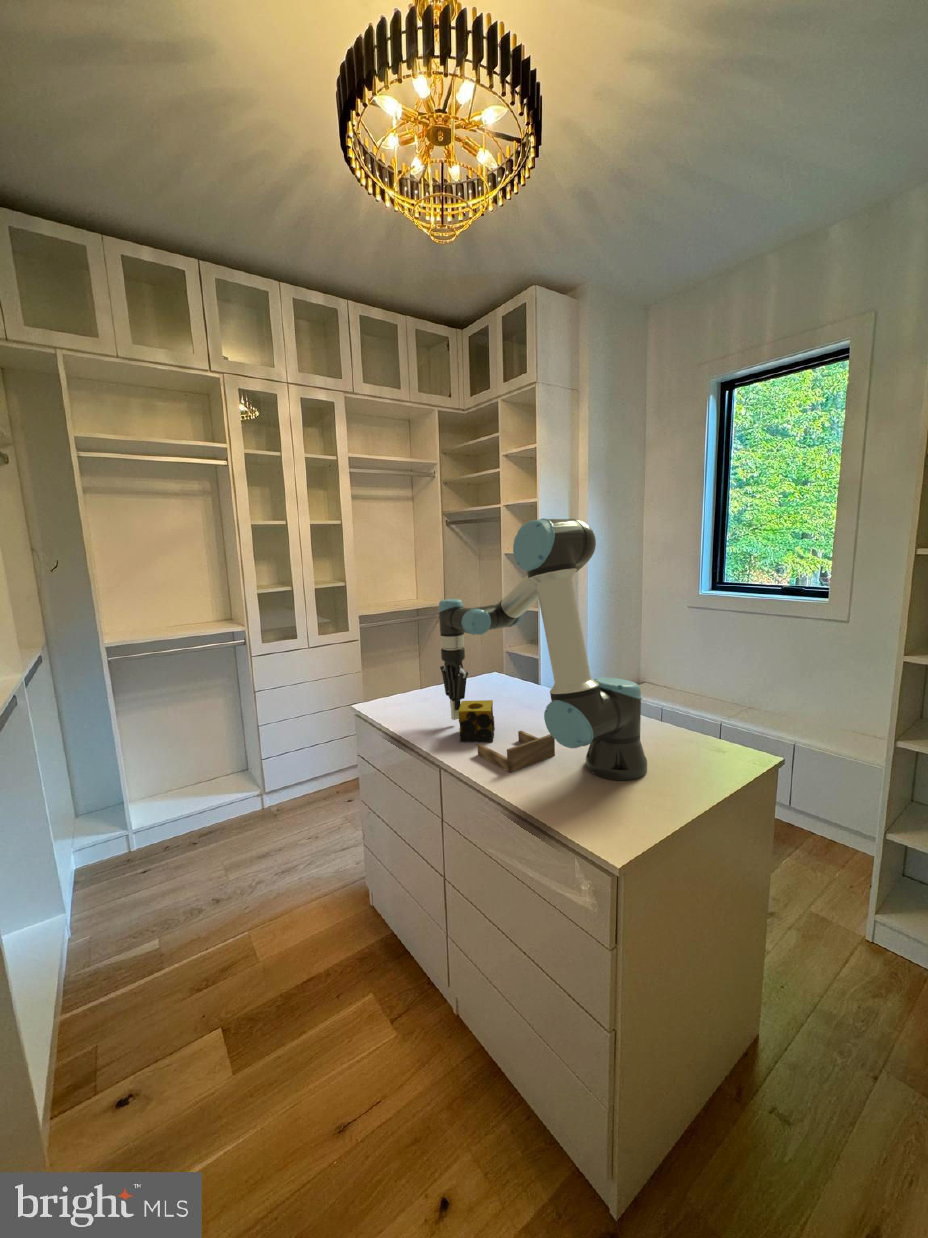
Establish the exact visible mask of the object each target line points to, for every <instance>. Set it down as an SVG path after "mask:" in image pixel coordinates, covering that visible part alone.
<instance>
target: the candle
mask: <svg viewBox="0 0 928 1238" xmlns="http://www.w3.org/2000/svg"><path fill="white" fill-rule="evenodd" d="M460 704H461V705H460V708H459V710H458V714H459V719H458V723H459V742H460V743H492V742H494V738H495V729H496V728H495V716H494V710H493V709H494V708H493V705H494V701H493V699H489V700H487V699H485V700H482V699H481V700H461V701H460Z"/></svg>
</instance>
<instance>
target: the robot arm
mask: <svg viewBox="0 0 928 1238" xmlns="http://www.w3.org/2000/svg"><path fill="white" fill-rule="evenodd" d="M595 535H596V534H595V533H594V531H593V529H592V528H591V526H590V525H588V524H587V523H586V522H584V521H583V520H581V519H576V518H540V519H532V520H529V521H526V522H525V523H523V525H521V526H520V527H519V529H518V530H517V533H516V535H515V537H514V540H513V545H512V553H513V554H512V555H513V558H514V562H515V563H516V565H519V566H518V567H519V568H520V569H522V570H523V571H526V573H527V575H526V576H525V577H524V578H523V579H522V580H520V582H519V583H518V584H517V585H516V586H514V587H513V589H511V591H509V592H508V593H507V594H506V595H505V596H504V597H503V598H502V599H501V600H500V601H499V602H498V603H496V604H491V605H490V604H489V605H485V606H476V607H464V605H463V600H461V599H460V598H447V599H441V600H440V601H439V603H438V618H439V619H438V621H439V633H440V634H439V635H440V641H439V642H440V648H441V649H440V653H441V654H440V656H441V657H440V658H441V661H443V662H444V663H443V664H444V665H440V667H439V668H440V671H441V675H442V680H443V685H444V692H445V696H447V697H448V699H449V702H450V713H451V714H450V715H451V717H450V720H453V721H455V720H459V714H458V710H459V708H460V705H461V701H462V700H464V699H465V696H466V688H467V687H466V686H467V679H468V676H469V672H468V671H465V670H464V665H463V661H464V660H465V658H466V653H465V648H464V646H465V634H464V633H466V634H469V635H472V636H473V635H474V636H475V635H479V636H481V635H485V634H486V633H487V632H488V631H492V630H497V629H504V628H511V627H513V626H517V625H519V624H520V623H521V622H522V618H523V615H524V613H525V612H526V611H528V610H529V609H530V608H532V607H533V605H534V604H536V603H539V607H540V612H541V613H540V614H541V617H542V618H541V619H542V624H543V629H544V634H545V639H546V644H547V650H548V656H549V660H550V665H551V670H552V676H553V682H554V684H553V686H552V687H551V689H550V691H549V694H550V695H549V696H550V702H549V703H548V704H547V705H546V707H545V710H544V713H543V714H544V715H543V719H544V723H545V727H546V729H547V731H548V732H549V735H550V734H551V736H552V737H553V738H554V739H555V740H556V741H555V742H557V743H559V745H561V746H563V747H565V748H569V749H577V748H581V747H586V746H588V745H589V747H588V748H587V753H586V755H585V767H586V768H587V771H589V772H591V773H592V774H594V775H596V776H597V777H600V778H604V779H607V780H613V781H631V780H637V779H640V778H642V777H644V776H645V775H646V774H647V773H648V760H647V758H646V754H645V751H644V747H643V745H642V740H641V720H642V718H641V715H642V712H641V710H642V709H641V708H642V695H641V694H642V693H641V691H642V690H641V687H640V686H639V684H638V683H636V682H634V681H632V680H627V679H624V678H623V679H622V678H616V677H596V678H595V679H593V678H592V677H591V672H590V670H591V669H590V666H589V661H588V656H587V651H586V645H585V640H584V635H583V630H582V624H581V618H580V613H579V609H578V604H577V599H576V593H575V588H574V587H575V586H574V582H573V577H574V575H575V574H576V573H577V572H578V571H580V570H581V569H582V568H583V567H584V566H586V564H587V563H589V561H590V560H591V558H592V557H593V555H594V554H595V551H596V545H597V543H596V542H597V541H596V536H595ZM538 601H539V602H538Z"/></svg>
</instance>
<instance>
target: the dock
mask: <svg viewBox="0 0 928 1238" xmlns="http://www.w3.org/2000/svg"><path fill="white" fill-rule="evenodd" d="M517 733H518V735H517V736H518V742H520V743H521V744H518V745H516V746H513V747H509V748H507V749H506V756H504V755H503V754H501V753H499V752H497V751H495V750H493V749H491V748H489V747H487V746H486V745H484V744H482V743H479V744H477V755H478V757H481V758H483V759H484V760H486V761H489V762H490V763H492V764H494V765H496V766H497V765H498V766H497V767H499V768H501V769H503V770H504V769H505V770H504V771H506V772H507V773H508V772H509V773H512V772H515V771H518V770H520V769H523V768H526V767H528V766H532V765H535V764H537V763H538V762H539V763H540V762H541V761H544V760H546V759H549V758H552V757H555V755H556V750H555V749H556V748H555V746H556V745H555V744H556V743H555V742H556V741H555V740H556V739H554V738H553V737H552V736H551V734H550V733H549V734H546V735H545V736H541V737H537V736H534V735H533V734H529V733H528V732H525V731H523V730H518V731H517Z"/></svg>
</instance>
